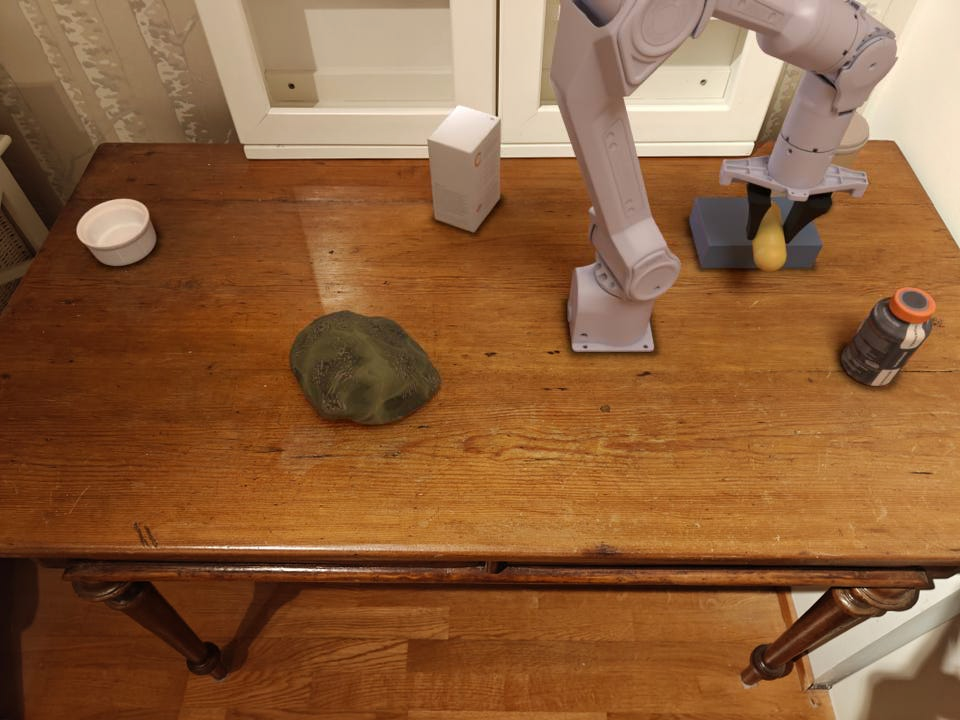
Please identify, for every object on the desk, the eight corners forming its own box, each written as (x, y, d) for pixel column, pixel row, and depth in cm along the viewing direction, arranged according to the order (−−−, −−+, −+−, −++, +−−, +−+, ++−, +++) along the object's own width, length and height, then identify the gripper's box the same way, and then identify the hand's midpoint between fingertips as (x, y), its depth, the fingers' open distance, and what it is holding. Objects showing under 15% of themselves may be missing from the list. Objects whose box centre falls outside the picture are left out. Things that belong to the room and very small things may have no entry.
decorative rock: (407, 324, 86) (405, 261, 79) (450, 421, 76) (453, 360, 69) (285, 351, 82) (271, 287, 74) (313, 458, 72) (301, 396, 65)
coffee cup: (841, 190, 98) (880, 114, 88) (822, 229, 93) (861, 154, 84) (776, 168, 101) (806, 92, 91) (754, 205, 96) (784, 130, 87)
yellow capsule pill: (782, 279, 79) (792, 258, 76) (751, 276, 79) (760, 254, 76) (774, 217, 85) (783, 195, 82) (745, 214, 85) (753, 192, 82)
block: (701, 268, 89) (709, 245, 86) (688, 220, 94) (695, 197, 91) (811, 268, 89) (823, 245, 86) (792, 219, 94) (803, 196, 91)
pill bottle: (898, 391, 78) (952, 326, 69) (842, 383, 78) (889, 318, 69) (890, 349, 81) (941, 283, 72) (837, 342, 82) (881, 274, 73)
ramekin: (143, 274, 89) (129, 249, 86) (78, 266, 90) (62, 242, 87) (172, 226, 95) (160, 201, 91) (110, 220, 95) (96, 195, 92)
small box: (461, 185, 99) (457, 103, 89) (501, 198, 97) (502, 116, 87) (432, 219, 95) (425, 138, 84) (474, 234, 93) (472, 153, 83)
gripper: (738, 153, 68) (703, 253, 79) (894, 167, 66) (837, 267, 77) (734, 111, 72) (702, 211, 83) (881, 123, 71) (828, 224, 82)
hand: (767, 235), depth 80 cm, fingers closed on yellow capsule pill, 3 cm apart
